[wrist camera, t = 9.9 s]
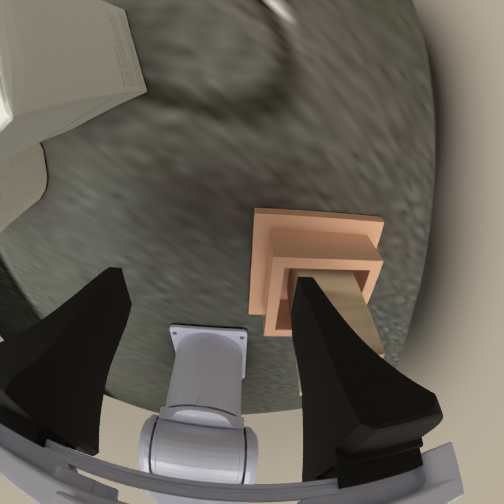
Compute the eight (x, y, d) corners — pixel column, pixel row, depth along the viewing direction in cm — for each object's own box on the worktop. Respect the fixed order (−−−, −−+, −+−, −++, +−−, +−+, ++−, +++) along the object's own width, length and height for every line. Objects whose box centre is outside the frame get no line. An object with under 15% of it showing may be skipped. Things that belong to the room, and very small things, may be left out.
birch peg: (331, 288, 23) (360, 390, 15) (286, 288, 23) (299, 395, 15) (342, 250, 21) (385, 354, 13) (292, 247, 21) (314, 359, 13)
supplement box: (127, 7, 11) (-3, -35, 1) (150, 93, 15) (12, 126, 5) (49, 54, 12) (-81, 77, 2) (69, 131, 16) (-57, 202, 6)
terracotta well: (350, 307, 26) (361, 342, 22) (248, 306, 26) (248, 344, 22) (379, 216, 21) (403, 246, 17) (254, 207, 20) (254, 239, 17)
